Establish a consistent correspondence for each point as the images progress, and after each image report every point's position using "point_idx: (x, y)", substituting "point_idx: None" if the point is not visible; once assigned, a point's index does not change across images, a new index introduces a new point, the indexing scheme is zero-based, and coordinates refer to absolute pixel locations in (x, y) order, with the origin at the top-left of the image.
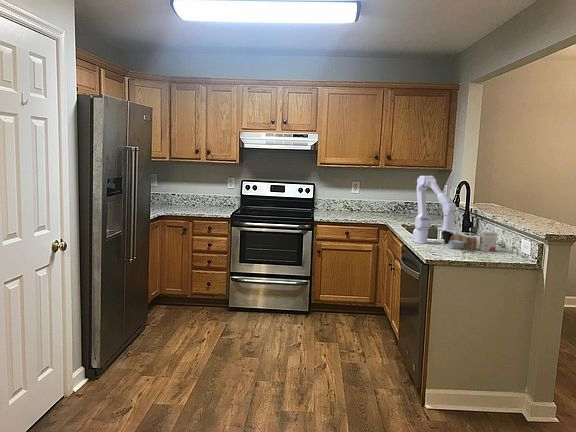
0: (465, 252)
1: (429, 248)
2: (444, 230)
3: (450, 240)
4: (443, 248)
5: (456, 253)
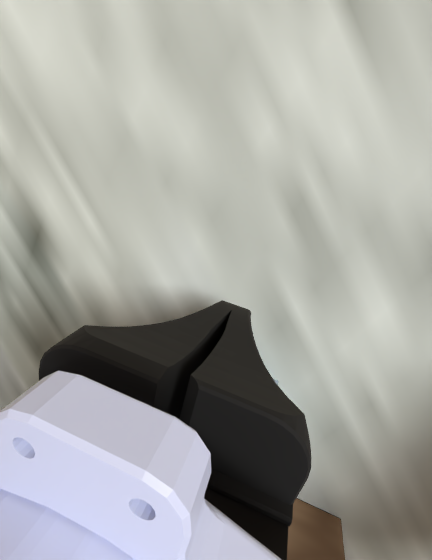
0: (29, 250)
1: (409, 49)
2: (34, 385)
3: (308, 553)
4: (253, 256)
5: (23, 110)
